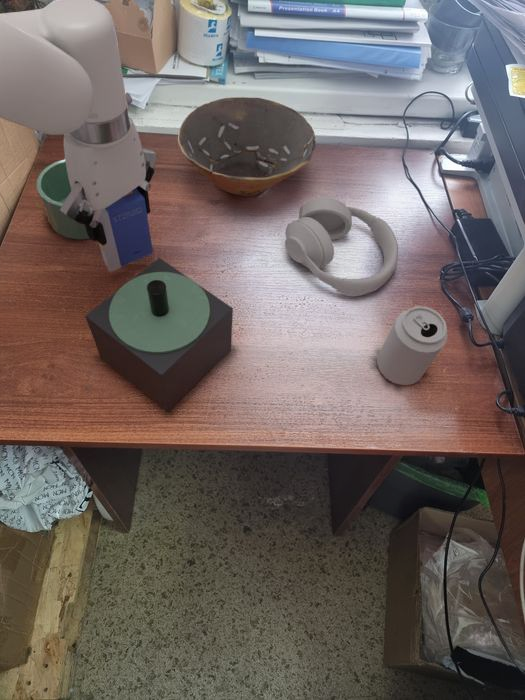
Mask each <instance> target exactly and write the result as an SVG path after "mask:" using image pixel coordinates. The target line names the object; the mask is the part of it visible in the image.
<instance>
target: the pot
mask: <svg viewBox="0 0 525 700" xmlns="http://www.w3.org/2000/svg"><path fill="white" fill-rule="evenodd" d="M36 191H37V194H38V196H39V199H40V202H41V205H42V207H43V210H44V212H45V215H46V218H47V221H48V222H49V224H50V226H51V228H52V229H53V231H55V232H56V233H57V234H59V235H60V236H62V237H65V238H67V239H73V240H91V239H90V238H89V236H88V234H87V231H86V228H85V224H80V223H78V222H76V221H75V220H73V219H71V218H69V217H67V216H66V215H64V214H63V213H62V212H61V211H60V209H61V207H62V205H63V204H64V202H65V200H66V199H67V197H68V196H69V194H70V192H71V191H72V190H71V186H70V182H69V178H68V173H67V168H66V162H65V158H64V159H62V160H59V161H58V160H57V161H55V162H53V163H52V164H50V165H48V166H46V167H45V168H44V169H43V170H42V171H41V172H40V173H39V174H38V178H37V180H36ZM81 202H82V201H81ZM80 206H81V203H80V205H79V206H78V208H77V210H78V211H79V210H80ZM88 213H90V210H89V212H88Z"/></svg>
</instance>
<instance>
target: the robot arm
mask: <svg viewBox="0 0 525 700" xmlns="http://www.w3.org/2000/svg"><path fill="white" fill-rule="evenodd" d="M130 94H131V93H129V92H127V91H126V88H125V82H124V77H123V69H122V63H121V56H120V50H119V43H118V37H117V31H116V26H115V21H114V18H113V16H112V14H111V11H109V10H108V8H107V7H106V6H104V5H103V4H102V3H101V2H99V1H97V0H53V1H52V2H50V3H48V4H47V5H46V6H45V7H43V8H37V9H31V10H23V11H14V12H2V13H0V119H2V120H5V121H7V122H10V123H13V124H16V125H18V126H20V127H24V128H27V129H30V130H32V131H36V132H39V133H41V134H45V135H51V136H60V135H63V153H64V159H65V162H66V168H67V173H68V178H69V182H70V186H71V190H72V191H71V192H70V194H69V196H68V197H67V199H66V200H65V202H64V204H63V205H62V207H61V209H60V211H61V212H62V213H63V214H64V215H66V216H67V217H69V218H71V219H73V220H75V221H76V222H78V223H80V224H85V228H86V231H87V234H88V236H89V238H90V239H89V240H92V241H93V242H97V243H98V244H99V243H100V244H102V245H103V246H104V245H105V244H106V242H107V240H106V236H105V232H104V228H103V225H102V223H100V222H99V219H100V215H101V212H102V209H104V208H106V207H108V206H110V205H111V204H113V203H114V202H116V201H117V200H119V199H120V198H122V197H123V196H125V195H126V194H128V193H129V192H131V191H132V190H133V189H135V188H136V189H137V190H138V191H139V192H140V194H141V195H142V196H143V197H144V198H145V205H146V211H147V215H149V214H150V213H151V206H150V205H151V204H150V197H149V191H150V190H151V188H152V185H151V180H152V178H153V176H154V174H155V168H156V164H157V160H158V158H159V155H158V153H156V152H154V151H153V150H151V149H143V147H142V141H141V138H140V136H139V133H138V130H137V128H136V125H135V123H134V121H133V118H131V116H130V113H129V105H130V104H132V103H133V98H132V96H131V95H130ZM81 201H82V202H81ZM80 203H81V206H80V210H79V211H78V210H77V208H78V206H79V205H80ZM90 207H92V209H93V210H92V214H90V213H88V212H89V208H90Z"/></svg>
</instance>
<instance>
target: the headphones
mask: <svg viewBox="0 0 525 700" xmlns="http://www.w3.org/2000/svg"><path fill="white" fill-rule="evenodd" d="M353 217H354V218H357V219H358V220H360V221H361V222H363V223H364V224H365V225H367V227H369V230H370V232H371V234H372V235H373V236H374V238H375V240H376V241H377V243H378V245H379V247H380V249H381V251H382V255H383V264H382V266H381V269H380V270H379V271H377V272H376V273H375V274H373V275H371V276H369V277H362V278H347V277H346V278H345V277H342V278H341V277H338V276H334V275H333V274H329V273H328V272H326V271H323V270H321V269H322V268H324V267H326V266H327V265H329V264H330V263H331V262H332V261H333V260H334V255H335V248H334V247H335V246H334V244H333V240H337V239H342V238H343V237H344V236H347V235H348V233H349V232H350V231H351V229H352V225H353ZM284 244H285V249H286V252H287V253H288V255H289V257H291V259H292V260H293V261H295V262H296V263H299V264H301V265H302V266H304V267H306V268H308V269H309V271H310V272H311V273H312V274H313V275H314V276H315V277H316V278H318V280H319V281H321V282H323V283H324V284H326V285H328V286H330V287H332V288H333V289H334V290H336V291H335V292H337V293H339V294H340V295H343V296H347V297H359V296H360V297H361V296H363V295H367V294H370V293H373V292H376V291H377V290H378V289H379V288H381V287H382V286H383V285H385V284H386V282H387V281H388V280H389V279H391V277H392V275H393V273H394V272H395V270H396V268H397V265H398V259H399V244H398V241H397V238H396V235H395V232H394V231H393V229H392V228H391V226H390V224H388V222H386V221H385V220H384V219H382V218H381V217H377V216H376V215H374V214H371V213H369V212H368V211H365V210H364V209H360V208H356V207H350V206H347V205H346V204H345V203H343V202H341V200H338V199H335V198H332V197H327V196H319V197H314V198H311V199H308V200H306V201H305V202H303V203H302V204H301V206H300V207H299V212H298V218H297V219H295V220H293V221H291V222H289V223H288V224H287V225H286V228H285V242H284Z"/></svg>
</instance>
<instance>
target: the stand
mask: <svg viewBox="0 0 525 700" xmlns="http://www.w3.org/2000/svg"><path fill="white" fill-rule="evenodd" d="M154 272H170V273H175V274H179V275H182V276H185V277H187V278H189V279H191V278H190V277H188V276H187V275H185V274H183V272H181V271H180V270H178V269H177V268H175V267H174V266H173V265H171V264H170V263H168V262H166V261H165V260H164V259H162V258H161V257H158V258H157V259H155V260H154V261H153V262H152V263H151V264H149V265H148V266H146V267H145V268H144V269H143V270H142V271H140V272H139V273H137V275H135V276H134V277H132V279H134V278H136V277H138V276H141V275H144V274H148V273H154ZM132 279H130V280H132ZM195 283H196V284H198V283H197V282H195ZM198 285H199V284H198ZM199 286H200V287H201V288H202V290H203V291H204V292H205V294H206V296H207V298H208V301H209V305H210V317H209V321H208V324H207V326H206V328H205V330H204V331H203V333H202V334H201V335H200V336H199V338H198V339H196V340H195V341H194V342H193V343H191V344H190V345H188V346H186V347H184V348H182V349H180V350H177V351H174V352H169V353H162V354H153V353H145V352H141V351H138V350H135V349H133V348H131V347H129V346H127V345H126V344H124V343H123V342H122V341H121V340H120V339H119V338H118V337H117V336H116V335H115V333H114V331H113V329H112V327H111V324H110V320H109V308H110V304H111V301H112V299H113V297H114V296H115V294H116V293H117V291H118V290H119V289H117V290H116V291H114V292H113V293H112V294H111V295H110V296H108V297H107V298H106V299H104V301H102V302H101V303H100V304H98V305H97V306H96V307H94V308H92V310H90V311H89V312H88V313H87V314H85V316H84V317H85V319H86V322H87V325H88V328H89V330H90V334H91V336H92V338H93V341H94V344H95V346H96V347H95V348H96V349H97V352H98V355H99V357H100V358H99V359H101V360H102V361H103V362H105V364H107V365H108V366H109V367H111V368H112V369H113V370H114V371H116V373H118V374H119V375H121V376H122V377H123V378H124V379H126V381H128V382H129V383H130V384H132V385H133V386H134V387H135V388H136V389H138V390H139V391H141V393H143V394H144V395H145V396H147V397H148V398H149V399H150V400H152V401H153V402H154V403H155V404H157V405H158V406H159V407H161V408H162V409H163V410H164V411H166V412H167V413H170V412H171V411H172V410H173V409H174V408H175V407H176V406H177V405H178V404H179V403H180V402H181V401H182V400H183V399H184V398H185V397H186V396H187V395H188V394H189V393H190V392H191V391H192V390H194V388H195V387H196V386H198V384H199V383H200V382H201V381H202V380H204V378H205V377H206V376H207V375H208V374H209V373H210V372H211V371H212V370H213V369H214V368H215V367H216V366H217V365H218V364H220V362H221V361H222V360H223V359H224V358H225V357H226V356H228V354H229V353H230V352H231V351H232V336H233V335H232V333H233V318H234V317H233V316H234V315H233V314H234V313H233V312H234V308H233V307H232V306H230V305H229V304H227V303H226V302H225V301H223V300H222V299H220V298H218V297H217V296H216V295H214V294H213V293H211V292H210V291H208V290H207V289H205V288H204V287H203V286H201V285H199Z"/></svg>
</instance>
